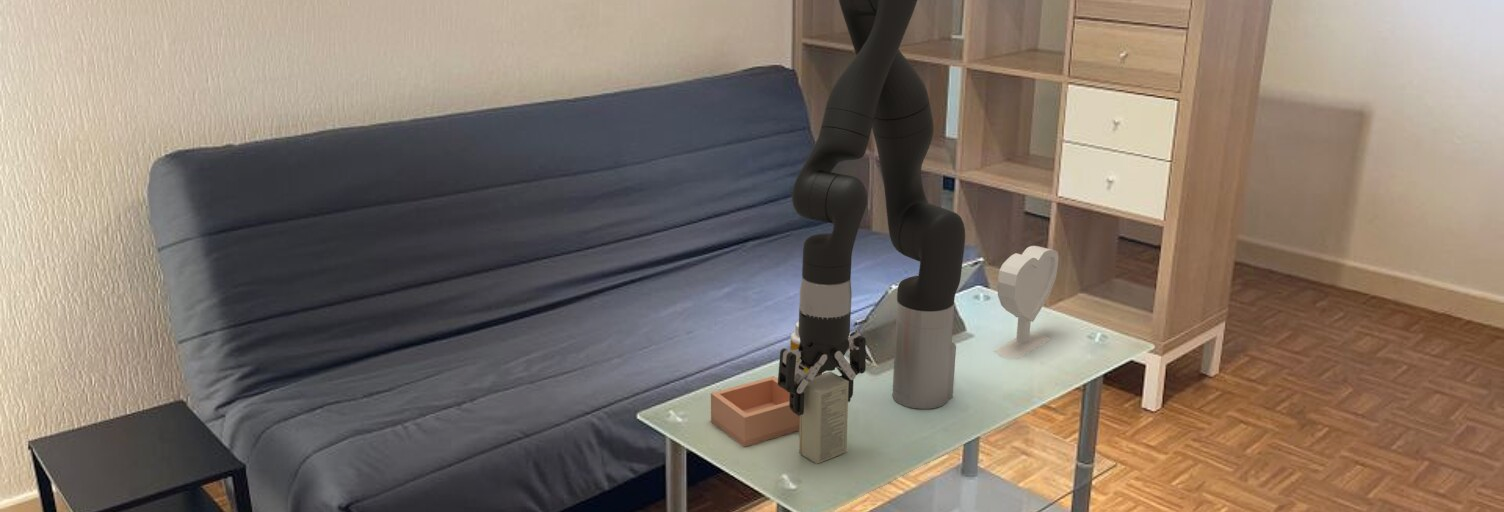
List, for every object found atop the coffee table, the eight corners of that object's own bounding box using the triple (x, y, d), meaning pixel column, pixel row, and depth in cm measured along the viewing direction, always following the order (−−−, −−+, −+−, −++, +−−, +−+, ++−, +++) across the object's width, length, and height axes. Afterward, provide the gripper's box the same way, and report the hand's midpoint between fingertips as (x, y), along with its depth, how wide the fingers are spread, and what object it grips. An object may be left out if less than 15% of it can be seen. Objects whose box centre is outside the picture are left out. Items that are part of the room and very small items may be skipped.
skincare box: (828, 441, 192) (831, 370, 188) (848, 453, 188) (850, 380, 184) (797, 453, 188) (798, 381, 184) (816, 465, 185) (818, 391, 181)
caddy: (773, 403, 204) (773, 376, 202) (808, 427, 196) (809, 399, 195) (710, 421, 198) (710, 393, 196) (744, 447, 190) (744, 417, 188)
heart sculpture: (1012, 362, 220) (1020, 266, 214) (988, 354, 223) (995, 260, 217) (1055, 336, 231) (1063, 245, 225) (1031, 329, 234) (1039, 239, 228)
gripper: (849, 289, 187) (844, 387, 192) (770, 306, 180) (767, 407, 185) (879, 305, 181) (874, 406, 186) (799, 323, 174) (795, 427, 179)
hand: (821, 406), depth 186 cm, fingers open, 8 cm apart
